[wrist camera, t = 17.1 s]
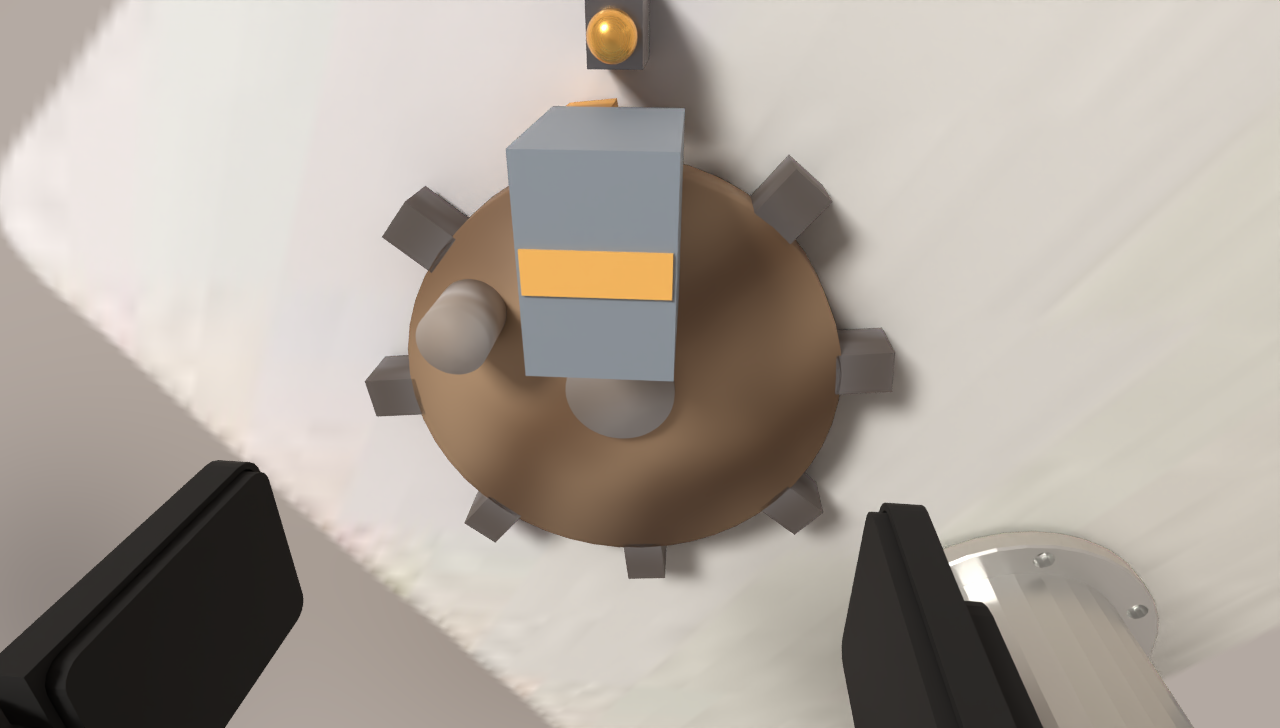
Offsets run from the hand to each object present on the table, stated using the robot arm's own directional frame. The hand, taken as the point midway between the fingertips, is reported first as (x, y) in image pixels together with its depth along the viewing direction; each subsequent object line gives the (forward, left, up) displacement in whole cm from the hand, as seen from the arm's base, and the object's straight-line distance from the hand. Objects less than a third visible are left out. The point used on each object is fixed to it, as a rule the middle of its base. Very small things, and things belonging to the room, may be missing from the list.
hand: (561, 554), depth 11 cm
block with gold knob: (+7, +1, -17) cm, 18 cm away
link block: (+1, 0, -14) cm, 14 cm away
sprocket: (-5, 0, -17) cm, 17 cm away
